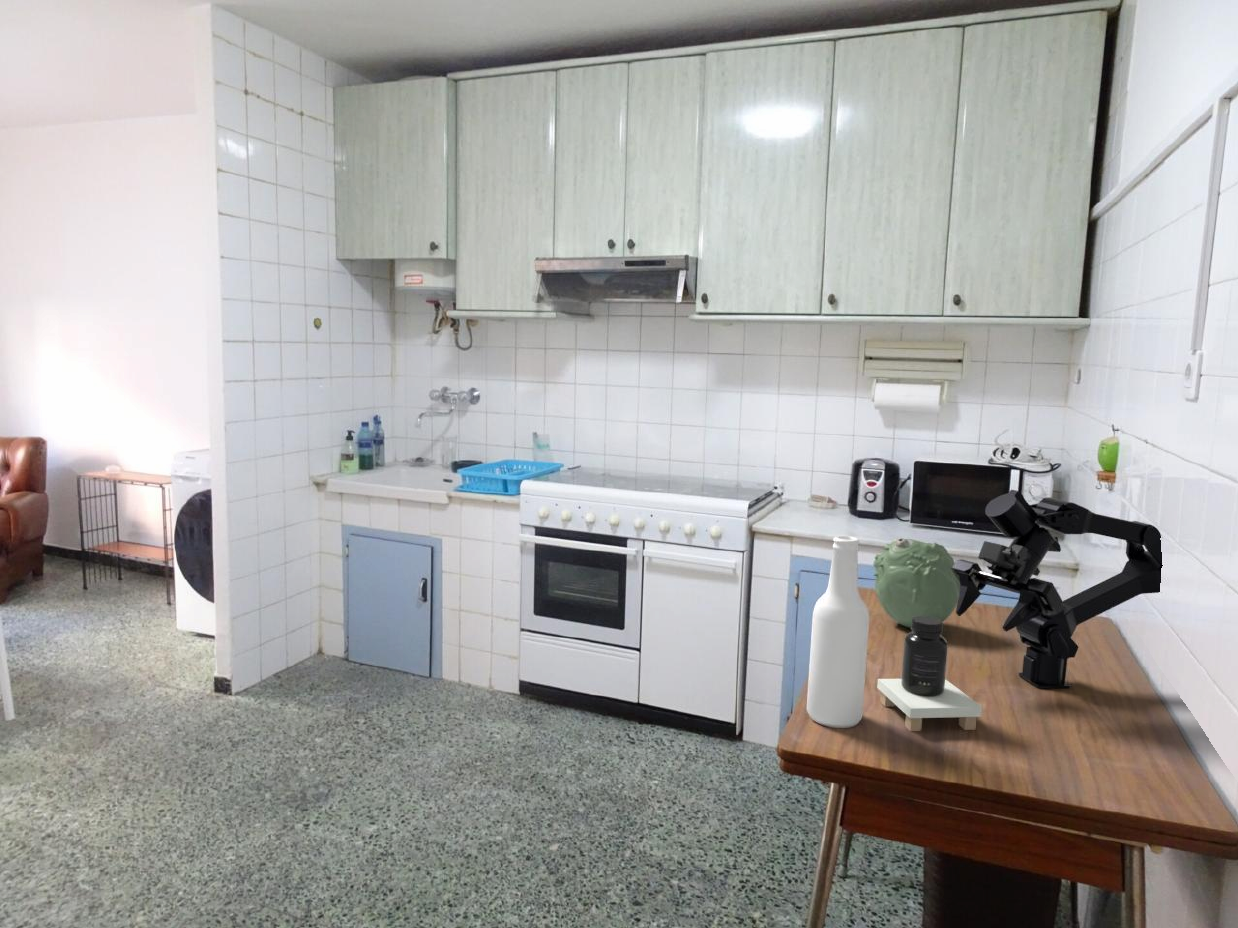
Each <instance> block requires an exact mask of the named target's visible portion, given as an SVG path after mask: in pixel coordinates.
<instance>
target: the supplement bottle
mask: <svg viewBox="0 0 1238 928" xmlns="http://www.w3.org/2000/svg"><path fill="white" fill-rule="evenodd" d="M943 627H944V621H943V622H942V621H941V620H939V619H937V618H934V617H929V616H916V617H913V618H912V625H911V628H910V630H911V631H910V632H908V633H907V634H906V635H905V637H904V638H903V639H904V640H903V650H902V651H903V652H902V668H901V679H902V680H901V684H902V686H903V688H904V689H905V690H906V691H908V692H910V693H913V694H916V695H920V696H938V695H940V694H942V693H943V692H944V688H945V679H946V672H947V661H948V648H949V647H948V641H947V639H946V638H945V637H944V636H942V634H943V631H944V630H943V629H944V628H943Z"/></svg>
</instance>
